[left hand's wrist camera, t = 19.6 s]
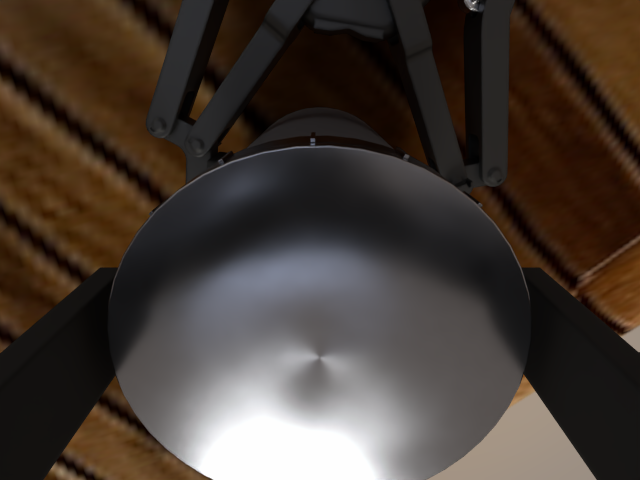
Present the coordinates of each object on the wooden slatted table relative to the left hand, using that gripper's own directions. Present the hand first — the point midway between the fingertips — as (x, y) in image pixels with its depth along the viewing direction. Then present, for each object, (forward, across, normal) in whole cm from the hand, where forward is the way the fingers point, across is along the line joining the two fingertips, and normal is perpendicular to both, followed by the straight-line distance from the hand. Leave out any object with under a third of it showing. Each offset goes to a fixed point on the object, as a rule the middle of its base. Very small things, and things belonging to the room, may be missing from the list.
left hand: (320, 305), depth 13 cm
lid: (-2, 0, 0) cm, 2 cm away
